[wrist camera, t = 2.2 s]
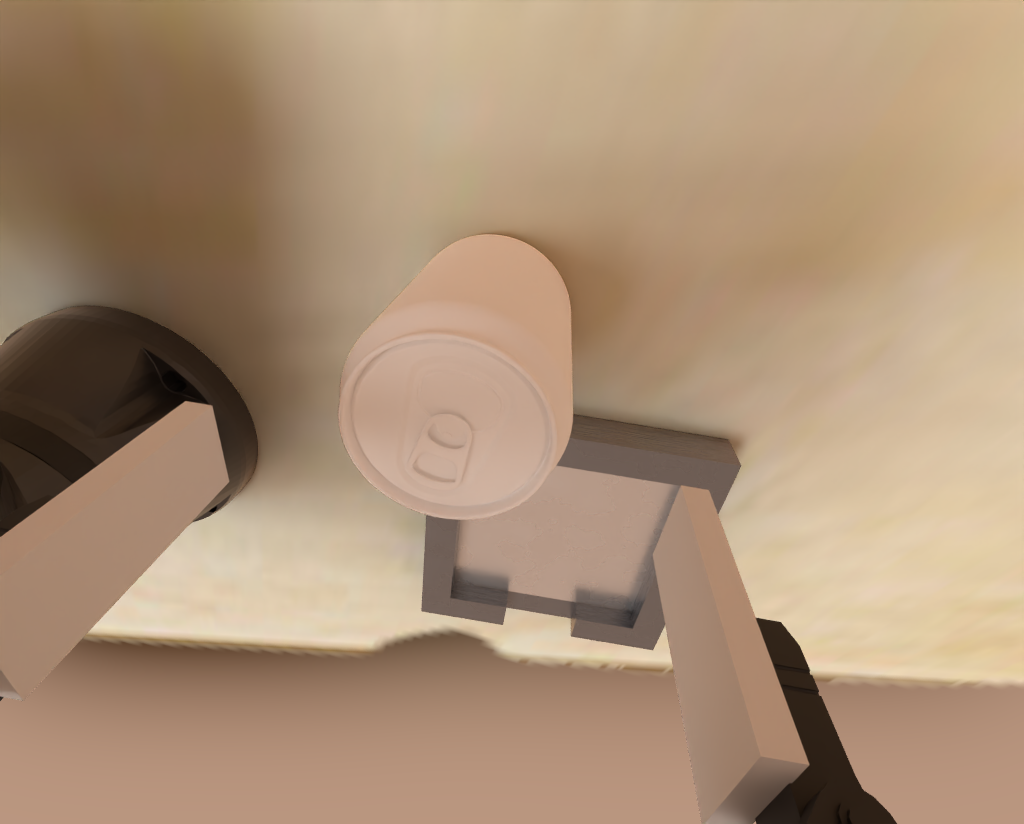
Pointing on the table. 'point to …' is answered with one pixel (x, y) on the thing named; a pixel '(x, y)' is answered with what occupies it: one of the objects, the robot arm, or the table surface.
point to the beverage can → (464, 382)
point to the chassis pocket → (579, 535)
